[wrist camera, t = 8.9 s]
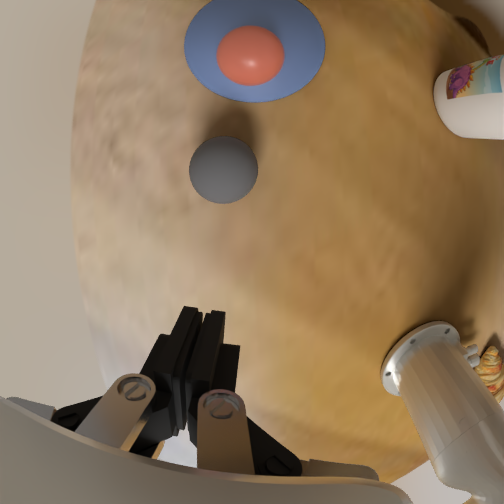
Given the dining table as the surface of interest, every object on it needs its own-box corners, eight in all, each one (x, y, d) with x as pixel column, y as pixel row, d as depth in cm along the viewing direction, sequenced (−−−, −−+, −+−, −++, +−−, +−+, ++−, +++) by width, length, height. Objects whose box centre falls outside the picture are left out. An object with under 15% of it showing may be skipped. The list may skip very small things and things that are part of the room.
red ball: (269, 98, 23) (274, 49, 22) (292, 79, 18) (297, 23, 17) (208, 89, 21) (217, 38, 20) (216, 65, 16) (227, 8, 15)
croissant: (463, 339, 36) (466, 376, 29) (514, 327, 30) (523, 363, 24) (459, 405, 41) (457, 436, 35) (500, 397, 35) (501, 428, 29)
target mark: (327, 0, 19) (328, -1, 18) (318, 112, 23) (319, 111, 23) (196, -11, 18) (196, -12, 18) (175, 98, 23) (174, 98, 23)
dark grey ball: (243, 222, 22) (256, 195, 26) (257, 153, 18) (268, 138, 23) (175, 206, 22) (199, 182, 26) (181, 138, 19) (206, 125, 23)
